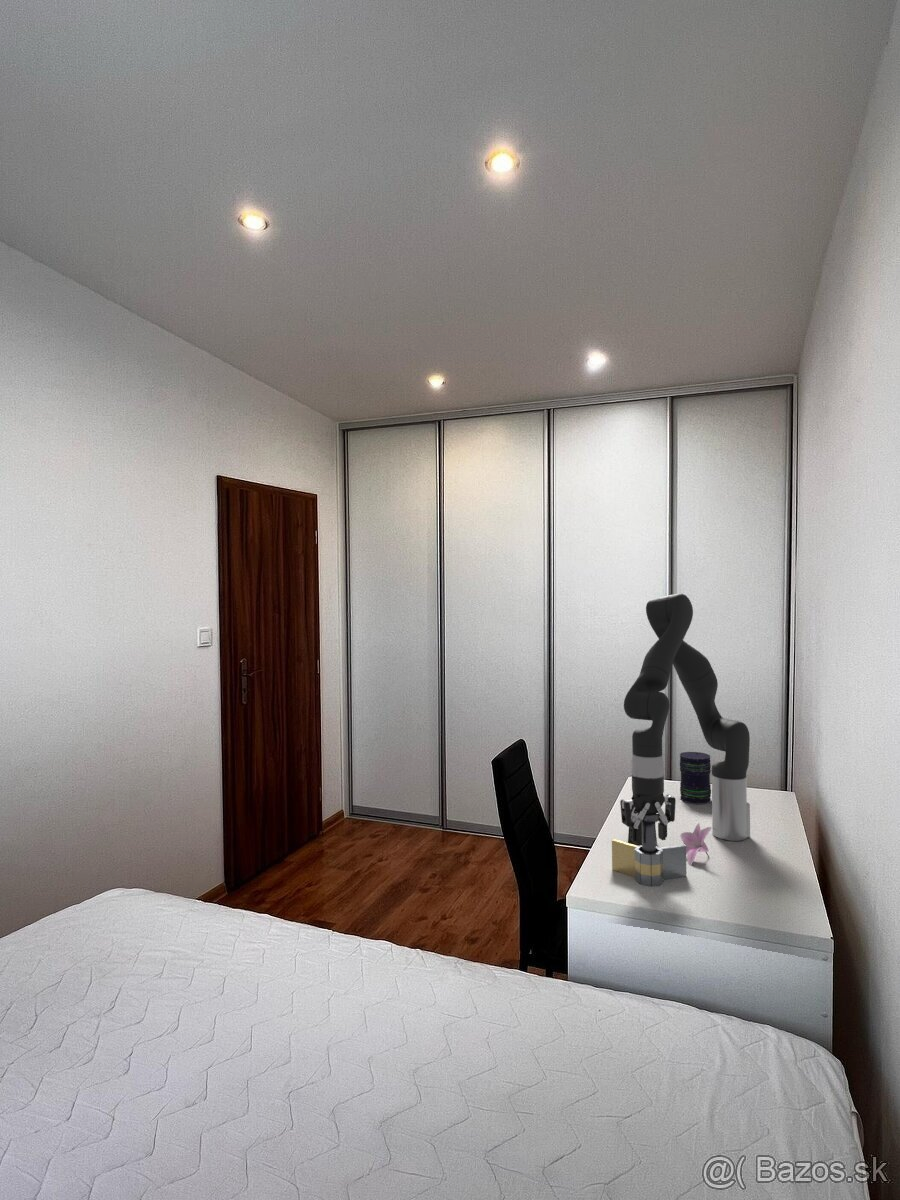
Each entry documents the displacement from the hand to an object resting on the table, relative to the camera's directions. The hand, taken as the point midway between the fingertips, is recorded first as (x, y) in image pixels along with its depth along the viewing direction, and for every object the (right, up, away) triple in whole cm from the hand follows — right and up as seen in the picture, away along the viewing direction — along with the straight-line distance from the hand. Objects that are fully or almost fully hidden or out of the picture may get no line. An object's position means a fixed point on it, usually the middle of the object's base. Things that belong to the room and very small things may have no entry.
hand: (648, 840), depth 164 cm
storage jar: (+34, -9, +63) cm, 72 cm away
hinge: (+2, -10, +3) cm, 10 cm away
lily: (+16, -10, +13) cm, 23 cm away
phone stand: (+5, -10, +22) cm, 25 cm away
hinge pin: (0, -10, 0) cm, 10 cm away
